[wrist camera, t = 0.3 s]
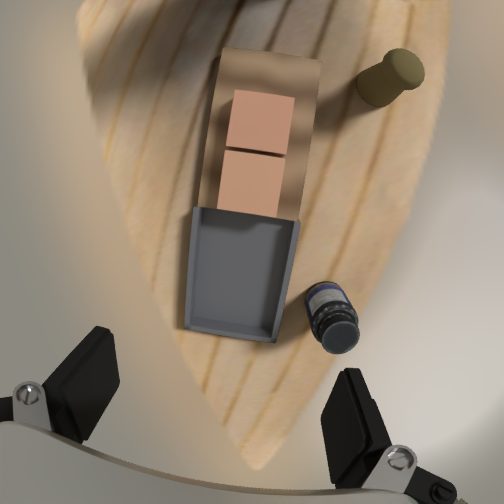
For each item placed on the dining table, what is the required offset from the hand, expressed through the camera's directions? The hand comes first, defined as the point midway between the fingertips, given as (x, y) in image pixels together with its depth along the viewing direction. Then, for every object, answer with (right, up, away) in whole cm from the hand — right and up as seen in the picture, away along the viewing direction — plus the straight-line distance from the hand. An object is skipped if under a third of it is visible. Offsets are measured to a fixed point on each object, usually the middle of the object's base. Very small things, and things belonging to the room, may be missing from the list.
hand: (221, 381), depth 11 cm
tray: (-1, +2, +31) cm, 31 cm away
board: (+2, +21, +25) cm, 33 cm away
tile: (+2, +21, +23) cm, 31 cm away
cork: (+19, +28, +22) cm, 41 cm away
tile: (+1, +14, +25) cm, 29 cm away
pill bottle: (+12, -2, +31) cm, 34 cm away
